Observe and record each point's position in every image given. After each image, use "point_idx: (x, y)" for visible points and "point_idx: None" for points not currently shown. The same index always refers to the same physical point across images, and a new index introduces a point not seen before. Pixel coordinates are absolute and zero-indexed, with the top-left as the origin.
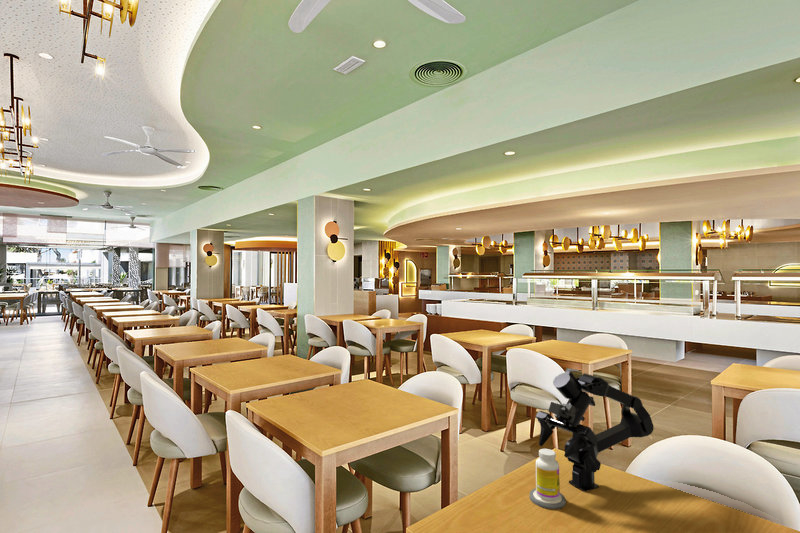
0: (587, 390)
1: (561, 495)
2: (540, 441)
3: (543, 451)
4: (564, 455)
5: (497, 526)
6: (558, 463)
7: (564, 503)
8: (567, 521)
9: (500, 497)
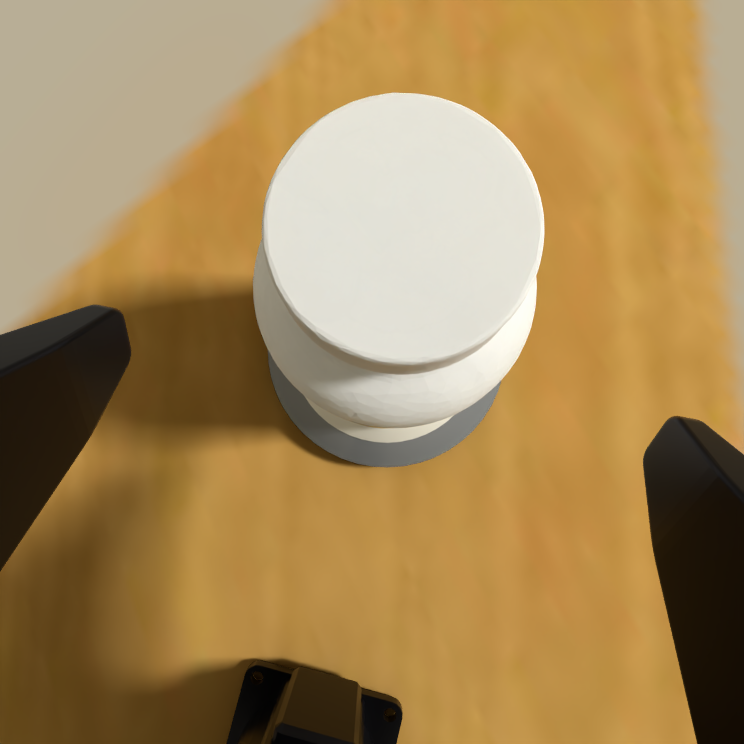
0: None
1: (325, 433)
2: (715, 453)
3: (453, 185)
4: (114, 308)
5: None
6: (276, 354)
7: (270, 362)
8: (185, 219)
9: (600, 149)
